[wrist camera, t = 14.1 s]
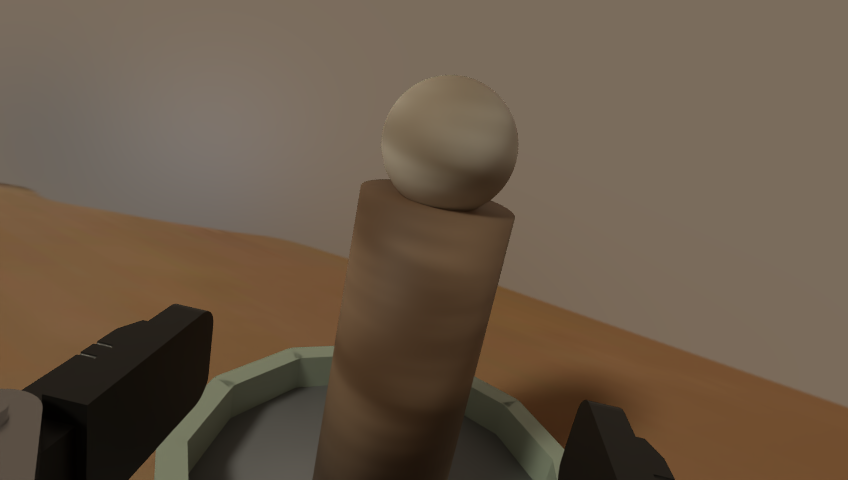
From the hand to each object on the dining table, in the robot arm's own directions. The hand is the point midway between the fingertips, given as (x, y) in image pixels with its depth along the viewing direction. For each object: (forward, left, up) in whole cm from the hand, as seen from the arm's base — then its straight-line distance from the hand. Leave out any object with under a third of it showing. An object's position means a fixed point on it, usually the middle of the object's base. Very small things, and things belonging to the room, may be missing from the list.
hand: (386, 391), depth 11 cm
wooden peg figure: (0, -7, -9) cm, 12 cm away
